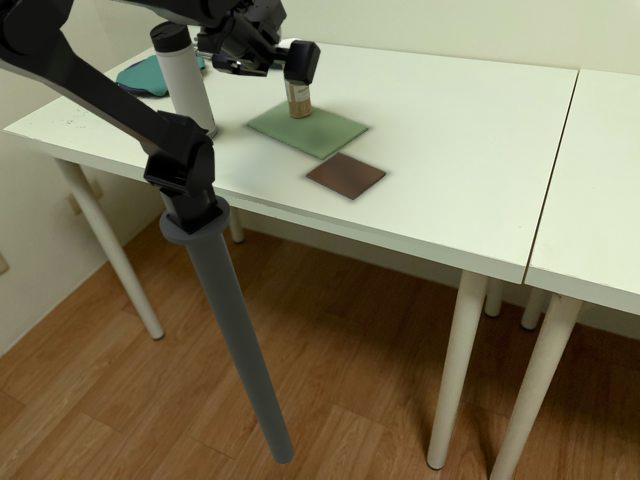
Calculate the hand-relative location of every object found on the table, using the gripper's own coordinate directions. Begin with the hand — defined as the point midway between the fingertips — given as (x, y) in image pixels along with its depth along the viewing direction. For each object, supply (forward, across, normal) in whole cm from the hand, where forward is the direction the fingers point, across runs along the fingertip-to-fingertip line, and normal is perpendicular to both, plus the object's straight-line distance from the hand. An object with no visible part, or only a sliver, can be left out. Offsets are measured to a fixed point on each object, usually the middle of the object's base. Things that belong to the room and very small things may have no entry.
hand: (288, 77), depth 83 cm
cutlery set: (+14, +40, -2) cm, 43 cm away
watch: (+21, +18, -9) cm, 29 cm away
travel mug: (-1, +15, +13) cm, 20 cm away
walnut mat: (-2, -17, +15) cm, 22 cm away
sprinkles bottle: (+8, 0, +4) cm, 9 cm away
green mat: (+5, -3, +7) cm, 9 cm away
